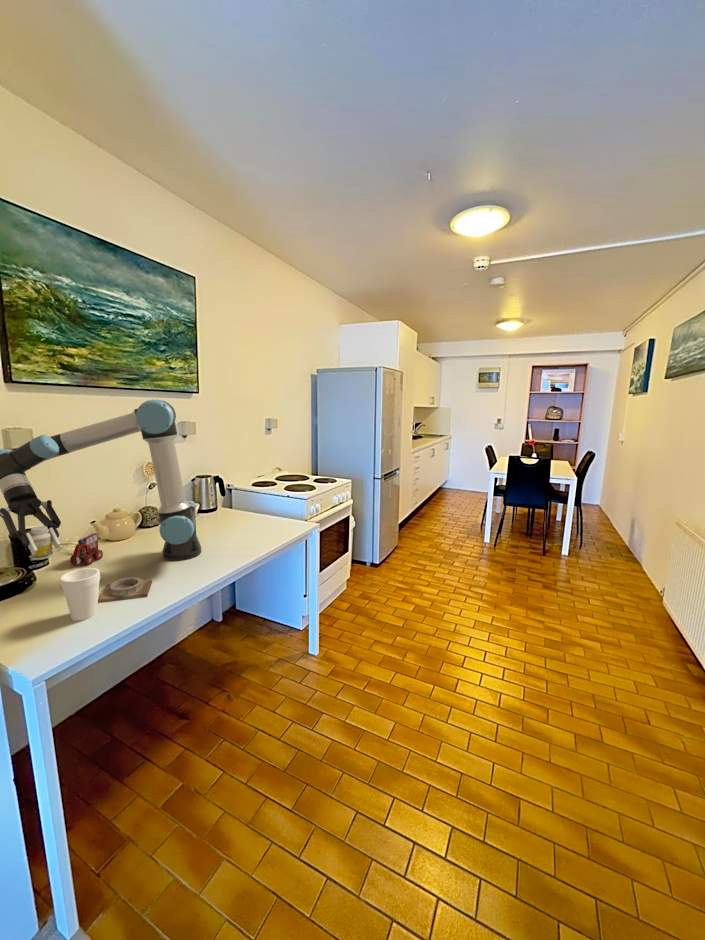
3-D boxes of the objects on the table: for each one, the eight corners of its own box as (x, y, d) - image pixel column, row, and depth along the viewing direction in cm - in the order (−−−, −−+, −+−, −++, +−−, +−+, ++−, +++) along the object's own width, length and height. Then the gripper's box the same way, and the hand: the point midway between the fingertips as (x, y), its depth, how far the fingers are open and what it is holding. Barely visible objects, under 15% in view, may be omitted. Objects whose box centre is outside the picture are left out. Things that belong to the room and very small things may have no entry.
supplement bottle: (52, 558, 121) (49, 528, 120) (30, 561, 118) (27, 531, 117) (53, 552, 126) (50, 524, 124) (32, 556, 122) (28, 527, 121)
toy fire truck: (66, 568, 147) (63, 542, 145) (90, 555, 159) (88, 531, 158) (83, 569, 147) (80, 543, 145) (106, 556, 159) (104, 532, 157)
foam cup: (109, 607, 120) (106, 568, 118) (90, 623, 111) (86, 581, 109) (78, 607, 119) (74, 567, 117) (56, 623, 110) (52, 581, 108)
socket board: (152, 582, 137) (151, 574, 137) (147, 596, 127) (146, 588, 127) (107, 587, 133) (106, 579, 132) (98, 602, 122) (97, 593, 122)
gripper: (48, 492, 134) (76, 546, 129) (-22, 503, 119) (7, 565, 113) (53, 479, 131) (83, 534, 125) (-18, 489, 115) (12, 552, 110)
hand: (46, 549), depth 119 cm, fingers closed on supplement bottle, 5 cm apart
